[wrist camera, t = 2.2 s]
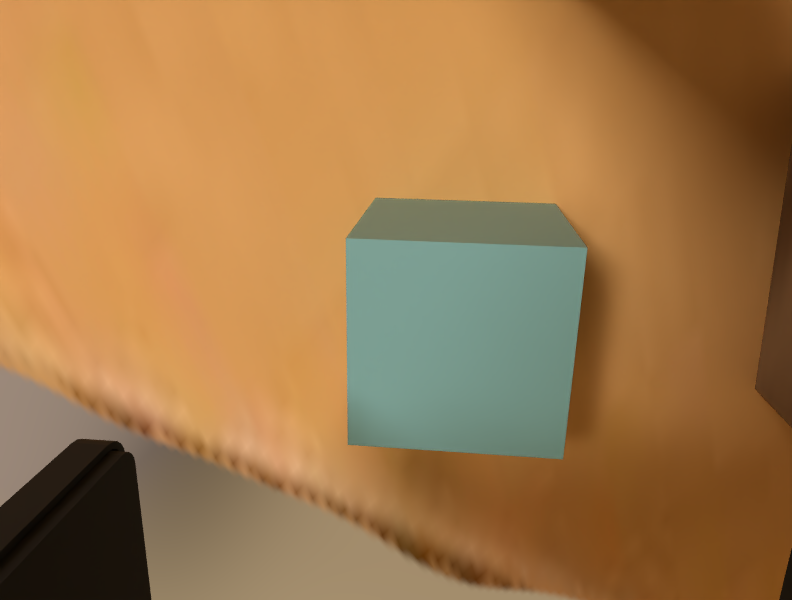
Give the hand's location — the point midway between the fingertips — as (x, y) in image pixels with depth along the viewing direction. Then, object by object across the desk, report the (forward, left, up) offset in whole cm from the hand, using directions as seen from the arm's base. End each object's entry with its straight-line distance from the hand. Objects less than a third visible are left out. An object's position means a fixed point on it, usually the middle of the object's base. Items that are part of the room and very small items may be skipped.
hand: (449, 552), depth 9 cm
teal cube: (-1, 0, -11) cm, 11 cm away
